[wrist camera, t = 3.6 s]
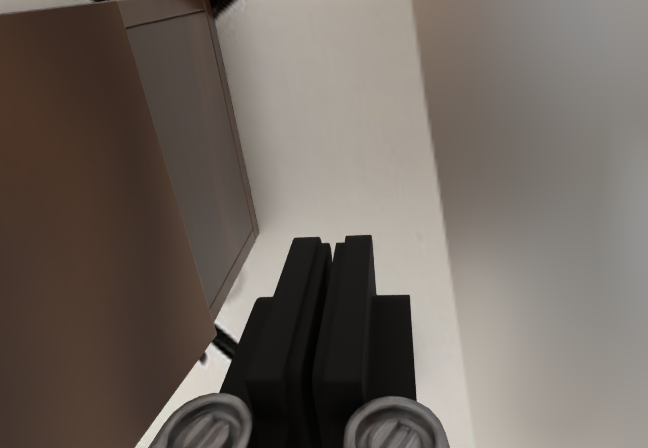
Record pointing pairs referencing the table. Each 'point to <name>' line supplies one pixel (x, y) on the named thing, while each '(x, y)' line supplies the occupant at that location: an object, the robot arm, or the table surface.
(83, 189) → the box lid
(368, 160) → the table surface
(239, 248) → the box
